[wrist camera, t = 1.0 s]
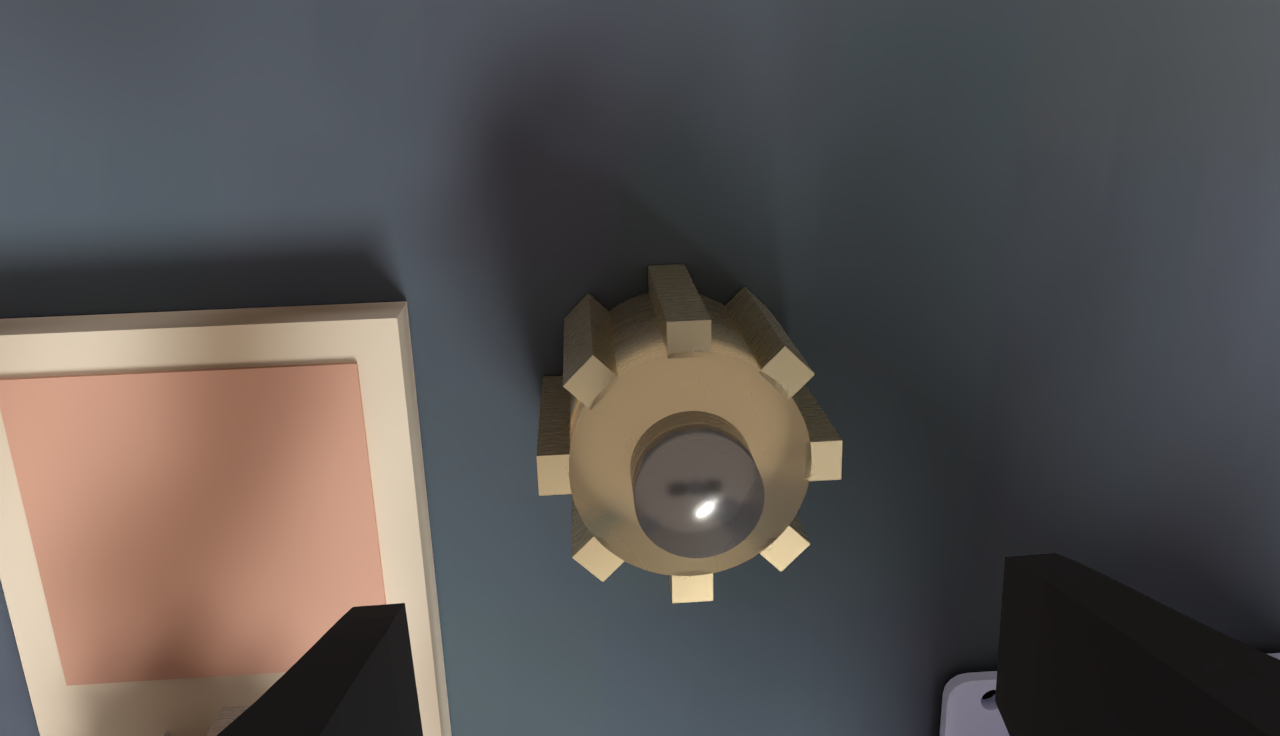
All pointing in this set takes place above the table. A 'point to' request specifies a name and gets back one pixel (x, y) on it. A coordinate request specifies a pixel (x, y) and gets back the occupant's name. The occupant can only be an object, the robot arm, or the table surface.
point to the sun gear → (222, 719)
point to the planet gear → (682, 434)
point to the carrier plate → (207, 506)
